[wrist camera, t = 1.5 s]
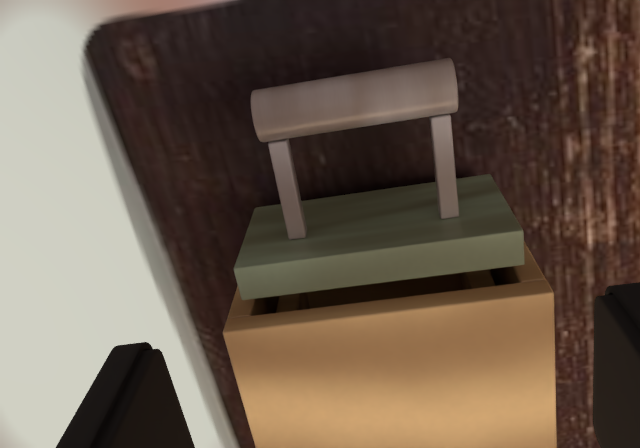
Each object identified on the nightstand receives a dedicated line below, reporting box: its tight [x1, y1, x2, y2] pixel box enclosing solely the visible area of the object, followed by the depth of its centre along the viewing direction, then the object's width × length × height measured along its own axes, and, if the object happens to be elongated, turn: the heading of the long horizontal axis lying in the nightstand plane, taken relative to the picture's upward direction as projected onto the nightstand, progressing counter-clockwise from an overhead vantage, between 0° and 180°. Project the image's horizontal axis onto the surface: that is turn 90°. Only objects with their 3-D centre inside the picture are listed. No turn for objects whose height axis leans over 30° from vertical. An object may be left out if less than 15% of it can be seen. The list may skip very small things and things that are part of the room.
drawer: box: [234, 58, 525, 313], centre depth 22 cm, size 16×9×5 cm, turn 10°
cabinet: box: [223, 242, 557, 448], centre depth 24 cm, size 13×10×7 cm
